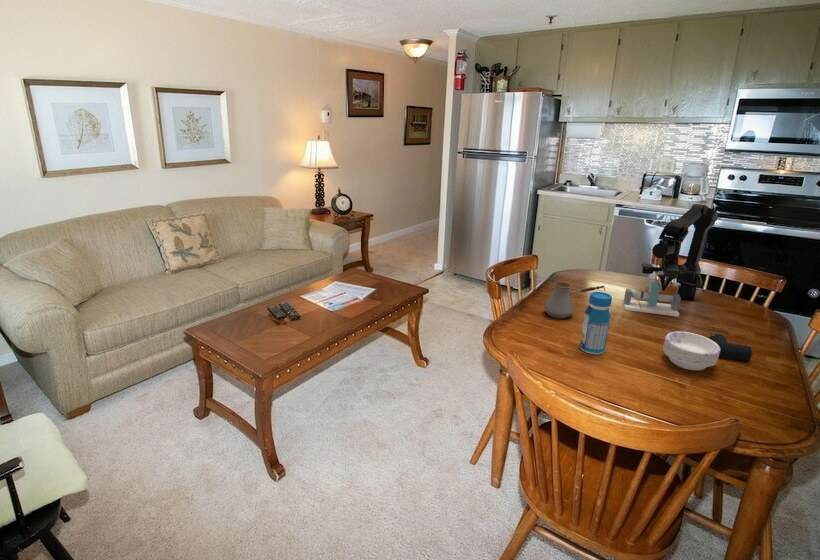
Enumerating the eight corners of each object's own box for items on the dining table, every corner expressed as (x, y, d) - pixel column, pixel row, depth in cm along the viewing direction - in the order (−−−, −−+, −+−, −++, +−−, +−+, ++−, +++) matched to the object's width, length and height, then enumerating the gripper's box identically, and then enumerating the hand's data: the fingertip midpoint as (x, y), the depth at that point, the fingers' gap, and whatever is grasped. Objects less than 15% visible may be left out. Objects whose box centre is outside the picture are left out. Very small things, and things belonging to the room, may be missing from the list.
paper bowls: (715, 381, 136) (721, 357, 134) (658, 366, 144) (663, 344, 141) (714, 360, 149) (720, 338, 146) (662, 347, 156) (667, 327, 154)
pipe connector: (693, 327, 160) (743, 334, 155) (690, 340, 162) (739, 348, 157) (699, 341, 150) (753, 350, 145) (695, 355, 152) (748, 364, 147)
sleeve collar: (653, 301, 190) (658, 280, 187) (656, 306, 185) (660, 285, 182) (646, 300, 191) (650, 280, 188) (648, 305, 186) (652, 284, 183)
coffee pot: (541, 317, 179) (545, 281, 174) (546, 307, 189) (550, 273, 184) (598, 328, 170) (605, 291, 165) (600, 316, 180) (607, 281, 175)
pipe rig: (674, 307, 190) (677, 292, 188) (678, 316, 181) (682, 300, 179) (622, 301, 196) (625, 286, 194) (624, 309, 187) (627, 293, 185)
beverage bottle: (593, 357, 149) (602, 301, 142) (573, 346, 156) (581, 292, 149) (610, 352, 153) (620, 297, 146) (590, 341, 160) (599, 288, 153)
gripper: (647, 256, 175) (640, 294, 180) (702, 262, 170) (693, 300, 175) (643, 249, 185) (636, 285, 190) (695, 254, 180) (686, 290, 185)
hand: (662, 290), depth 185 cm, fingers closed
